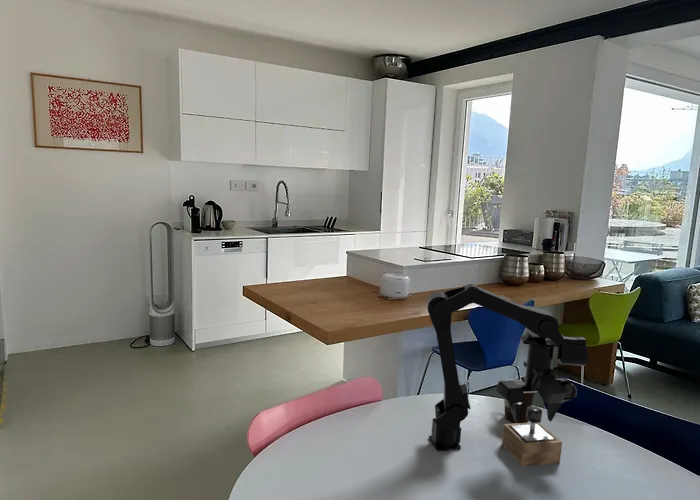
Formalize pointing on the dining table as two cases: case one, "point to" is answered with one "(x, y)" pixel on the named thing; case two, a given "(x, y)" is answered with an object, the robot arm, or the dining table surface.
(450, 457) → the dining table surface
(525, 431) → the plunger
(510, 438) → the wooden square tray
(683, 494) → the dining table surface
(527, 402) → the coffee mug
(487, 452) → the dining table surface
